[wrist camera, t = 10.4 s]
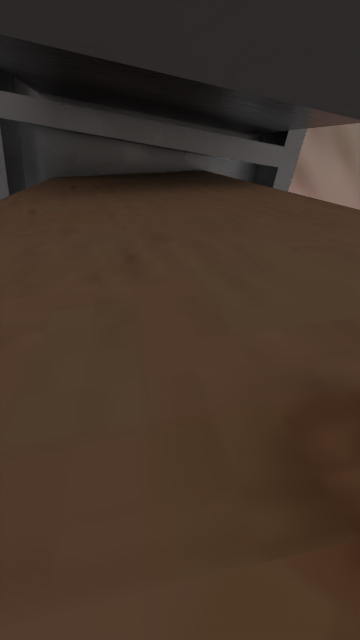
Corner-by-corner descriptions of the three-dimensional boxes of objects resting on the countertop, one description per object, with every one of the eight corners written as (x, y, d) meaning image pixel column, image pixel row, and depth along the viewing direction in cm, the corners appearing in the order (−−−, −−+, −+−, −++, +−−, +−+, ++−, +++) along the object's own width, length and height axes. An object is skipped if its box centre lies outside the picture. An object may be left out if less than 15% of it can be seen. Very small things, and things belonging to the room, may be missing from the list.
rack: (30, 331, 23) (-31, 458, 13) (-34, -188, 11) (-792, -1850, 2) (226, 337, 27) (283, 438, 17) (330, -47, 15) (676, -369, 6)
